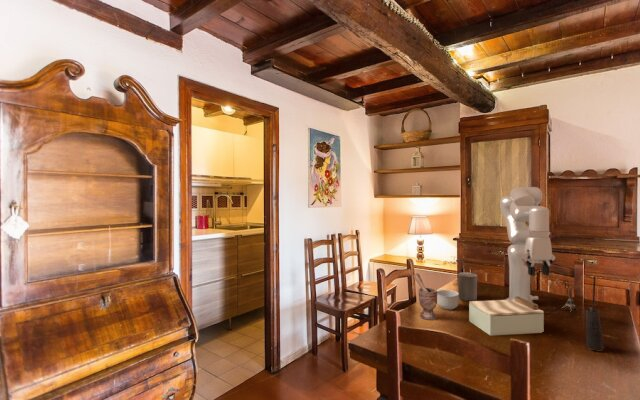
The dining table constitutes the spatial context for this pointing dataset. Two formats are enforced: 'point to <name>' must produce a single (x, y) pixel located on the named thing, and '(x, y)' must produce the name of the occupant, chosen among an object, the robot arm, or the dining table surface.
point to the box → (506, 322)
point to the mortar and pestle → (426, 299)
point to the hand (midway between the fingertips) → (538, 274)
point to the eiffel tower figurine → (570, 301)
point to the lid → (507, 307)
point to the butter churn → (593, 327)
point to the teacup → (447, 299)
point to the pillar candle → (467, 286)
